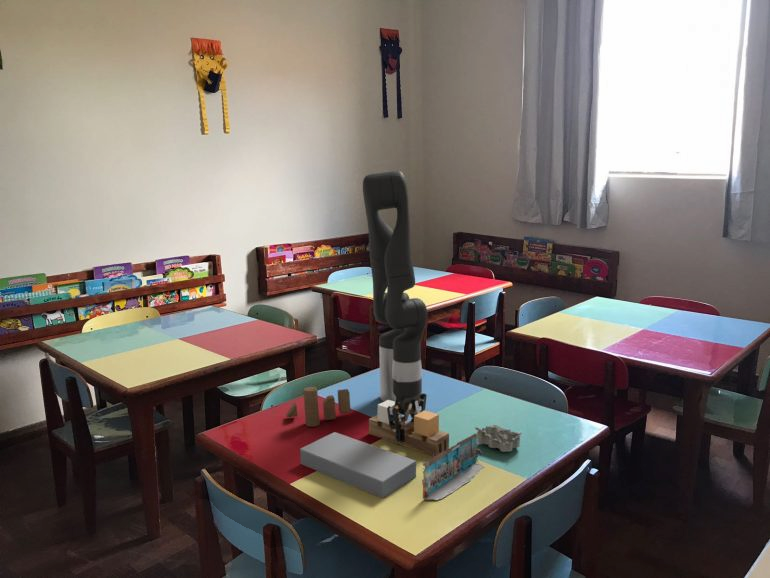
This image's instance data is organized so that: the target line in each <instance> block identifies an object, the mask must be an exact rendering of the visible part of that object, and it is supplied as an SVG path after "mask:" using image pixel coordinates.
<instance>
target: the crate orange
mask: <svg viewBox="0 0 770 578" xmlns="http://www.w3.org/2000/svg"><path fill="white" fill-rule="evenodd" d="M439 430H440V415H439V414H438V413H435V412H431V411H428V410H426V409H425V410H424V411H422V412H420V413H418V414H417V415H415V416H414V433H417V434H420V435H423V436H427V437H430V436H431V435H433V434H435V433H436V432H438V431H439Z"/></svg>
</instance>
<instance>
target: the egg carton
mask: <svg viewBox="0 0 770 578" xmlns="http://www.w3.org/2000/svg"><path fill="white" fill-rule="evenodd" d="M474 429H475V430H476V434H477V435H478V444H479V445H488V447H489V448H492V449H496V448H497V449H499V451H500V452H512V451H513V449H514V448H519V447H520V443H521V442H520V441H521V436H522V434H523V432H517V431H512V429H506V428H503V427H501V426H499V425H497V424H492V425H489V426H488V425H487V426H486V427H485V428H484V427H482V429H481V428H479V427H478V426H475V428H474Z"/></svg>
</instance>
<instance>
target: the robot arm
mask: <svg viewBox="0 0 770 578" xmlns="http://www.w3.org/2000/svg"><path fill="white" fill-rule="evenodd" d="M408 191H409V190H408V184H407V181H406V177H405V175H404V174H403V172H402V171H400V170H393V171H385V172H384V171H383V172H378V173H377V172H376V173H371V174H367V175H365V176H364V178H363V181H362V194H363V200H364V201H363V202H364V207H365V215H366V221H367V229H368V249H369V250H368V251H369V260H370V268H371V277H372V293H373V294H372V300H373V301H372V302H373V316H374V319H375V322H377V323H380V324H388V325H389V327H390V328H391V329H392V330H388V331H387V332H383V333H381V334H380V336H379V338H378V344H379V345H378V346H379V348H378V350H379V351H378V352H379V353H378V354H379V389H380V390H379V393H380V394H379V397H380V401H381V402H382V403H383V402H385V401H387V400H391V401H394V402H395V405H393V406H392V407H390V406H388V408H387V412H388V419H389V426H390V427H391V428H395V429H396V440H397V441H398V442H401V443H402V442H404V441H405V432H404V431H405V429H404V426H405V423H407V422H408V420H409V416H410V418H411V419H410V421H411V422H414V416H415V415H417V414H418V413H420V412H422V411H424V410H425V411H426V405H427V398H428V397H427V396H428V395H427V394H426V393H423V379H422V378H423V376H422V375H423V374H422V373H423V370H422V369H423V368H422V367H423V366H422V360H421V359H422V358H421V357H422V356H421V346H422V345H421V344H422V343H421V342H422V339H423V336H424V333H425V327H426V325H427V321H428V320H427V319H428V309H427V305H426V304H425V302H424V300H423V299H421V298H418V297H413V298H410V296H409V294H408V293H406V292H405V291H407V290H410V289H412V288H414V287H415V285H416V278H415V269H414V264H413V263H414V262H413V258H412V248H411V226H410V225H411V223H410V221H411V220H410V219H411V218H410V205H409V204H410V203H409V192H408ZM388 209H389V210H391V209H396V223H395V226H394V229H392V228H391V227H390V226H389V225H388V224H387V223H386V222H385V220H384V219H383V218H382V216H381V214H380V212H379V211H382V210H388ZM420 408H421V409H420ZM400 414H402V416H400ZM400 419H401V424H399V420H400ZM393 421H394V422H395V423H394V422H393Z"/></svg>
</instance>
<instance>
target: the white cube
mask: <svg viewBox="0 0 770 578" xmlns="http://www.w3.org/2000/svg"><path fill="white" fill-rule="evenodd" d="M393 405H395V402H394V401H391V400H387V401H385V402H383V401H382V402H381V403H378V404H377V415H378V421H380V422H383V423H386V424H389V419H388V412H387V408H388V406H390V407H392V406H393ZM400 416H403V415H402V414H400ZM400 420H401V419H400ZM400 420H399V421H400ZM393 422H394V421H393ZM394 423H395V422H394Z"/></svg>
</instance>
